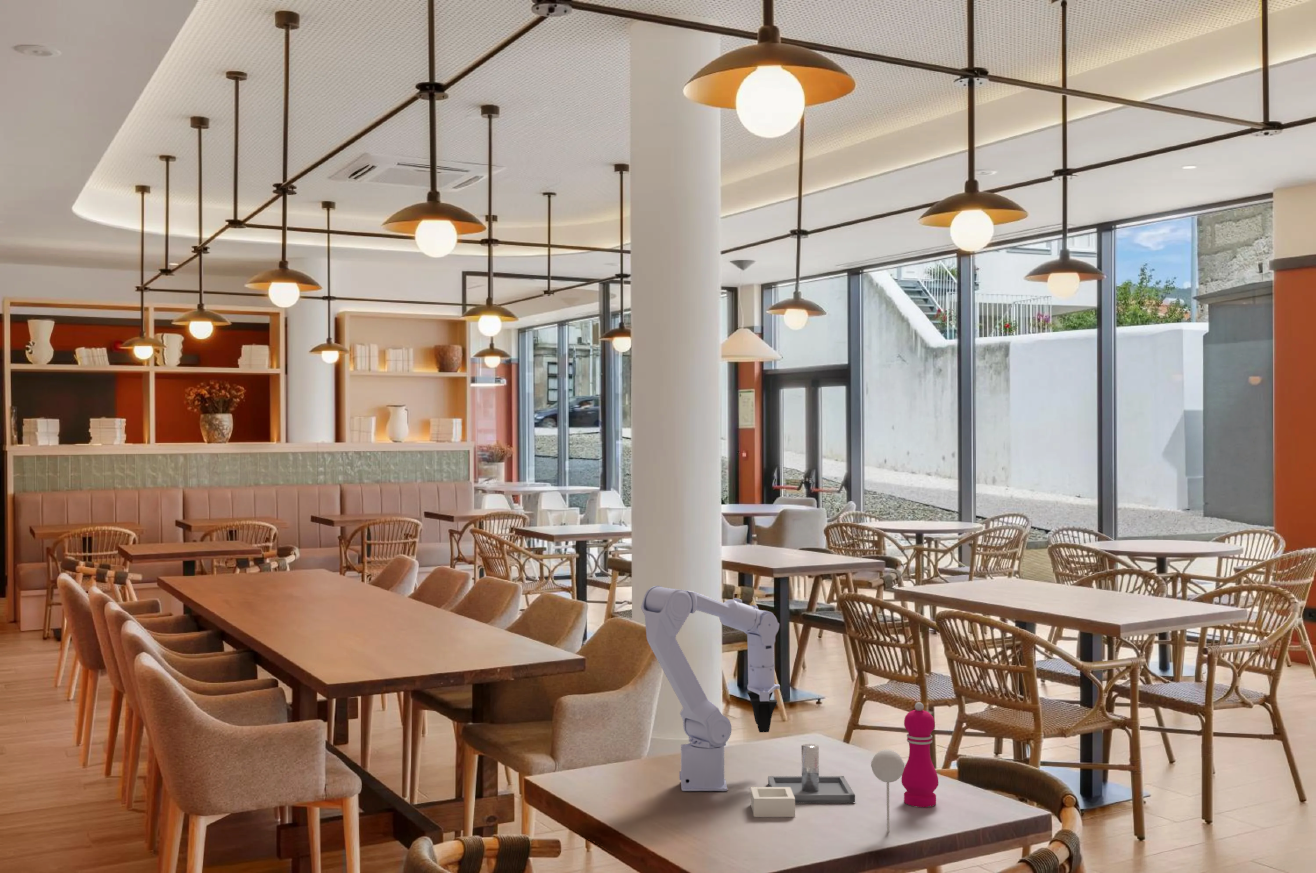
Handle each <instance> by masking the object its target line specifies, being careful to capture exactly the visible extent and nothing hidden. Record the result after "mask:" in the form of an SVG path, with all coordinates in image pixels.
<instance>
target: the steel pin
mask: <svg viewBox="0 0 1316 873" xmlns="http://www.w3.org/2000/svg"><path fill="white" fill-rule="evenodd" d="M819 747H820V746H819V745H818V744H816V743H814V744H813V743H805V744H801V776H802V791H804V792H818V791H819V776H820V774H819V773H820V771H819V770H820V768H819V767H820V765H819V764H820V763H819V762H820V761H819V760H820V758H819V757H820V754H819V752H820V750H819Z"/></svg>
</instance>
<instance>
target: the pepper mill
mask: <svg viewBox="0 0 1316 873" xmlns="http://www.w3.org/2000/svg"><path fill="white" fill-rule="evenodd" d="M924 708H925V705H924V704H923V703H922V702H921V701H918V702H916V703H915V704H914V709H913V710H910V711H909V712H907V713H906V715H905V716H904V721H903V725H904V729H905V731H907V734H906V742H907V743H908V745H909V754H908V758H907V761H906V763H905V764H904V771H903V774H902V775H901V779H900V780H901V781H900V782H901V784H902V787H904V789H905V790H906V791H904V793H903V802H904V803H905V805H907V804H908V806H910V805H911V807H914V806H917V807H916V808H929V807H928V806H931V807H934V806H935V805H936V804H937V794H936V793H935V790H936V789H937V788H938V786H939V777H938V773H937V770H936V768H935V766H934V764H933V761H932V756H931V744H932V743H933V735H932V732H933V731H934V730H935V726H936V724H935V723H936V722H935V717H934V716H933V715H932V714H931V713H930V712H929V711H927V710H924ZM933 805H934V806H933Z"/></svg>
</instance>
